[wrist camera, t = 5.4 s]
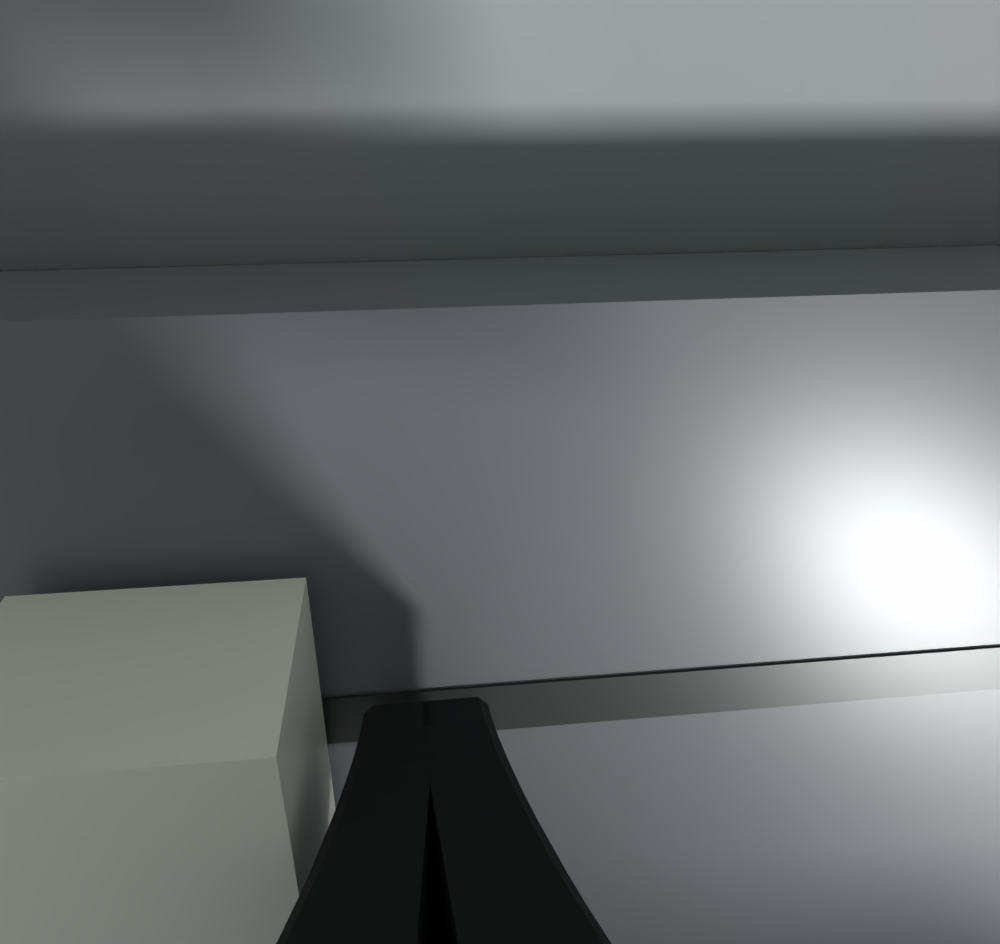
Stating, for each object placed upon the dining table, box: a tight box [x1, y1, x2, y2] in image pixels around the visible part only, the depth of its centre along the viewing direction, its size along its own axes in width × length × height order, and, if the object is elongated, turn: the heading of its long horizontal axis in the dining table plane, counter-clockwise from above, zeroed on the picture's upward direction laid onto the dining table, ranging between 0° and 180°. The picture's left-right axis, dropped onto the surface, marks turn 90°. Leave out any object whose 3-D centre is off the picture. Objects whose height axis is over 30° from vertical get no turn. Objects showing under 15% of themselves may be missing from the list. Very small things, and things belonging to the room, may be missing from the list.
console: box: [0, 245, 1000, 944], centre depth 13 cm, size 18×18×2 cm
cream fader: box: [0, 578, 336, 944], centre depth 9 cm, size 3×4×2 cm, turn 0°
